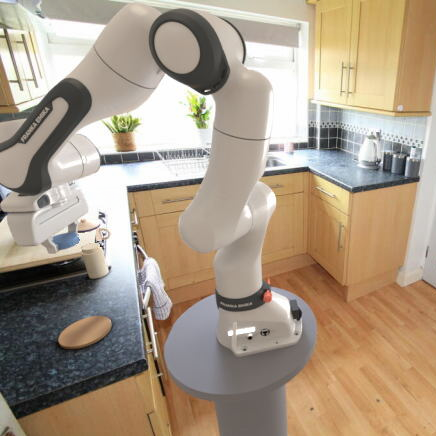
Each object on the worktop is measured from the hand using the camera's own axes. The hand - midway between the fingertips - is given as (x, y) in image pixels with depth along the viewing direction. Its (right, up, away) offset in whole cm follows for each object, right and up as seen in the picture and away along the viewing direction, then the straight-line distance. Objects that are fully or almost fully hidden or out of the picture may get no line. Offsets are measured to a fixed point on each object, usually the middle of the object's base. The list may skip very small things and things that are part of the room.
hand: (64, 245), depth 77 cm
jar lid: (0, +1, -1) cm, 2 cm away
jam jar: (-12, -12, +29) cm, 33 cm away
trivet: (+2, -23, +4) cm, 23 cm away
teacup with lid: (-25, -4, +45) cm, 52 cm away
